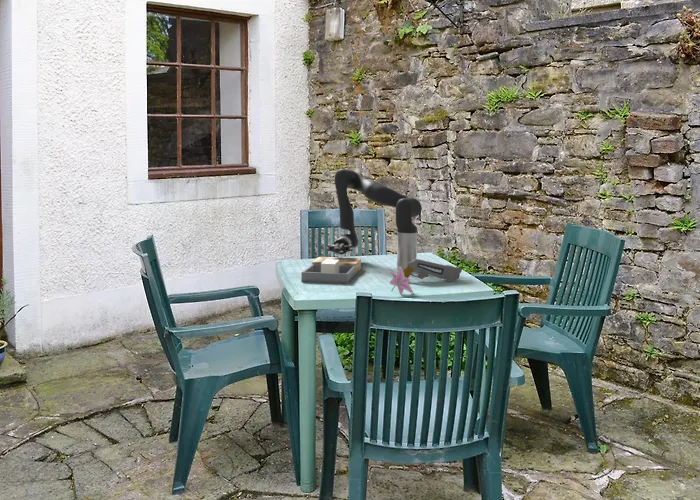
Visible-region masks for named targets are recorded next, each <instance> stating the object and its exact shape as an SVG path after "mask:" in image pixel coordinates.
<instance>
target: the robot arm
mask: <svg viewBox="0 0 700 500" xmlns="http://www.w3.org/2000/svg"><path fill="white" fill-rule="evenodd" d="M333 180H334V187H335V190H336V197H337V201H338V207H339V227H340V229H341V230H344V231H345V230H346V231H348V232H349V233H345V234H344V233H341V234H339V235H338V236H337V238H336V240H335V241H334V242H333V244H332V245H331V244H326V251H329V252H334V254H338V255H344V254H346V253H347V252H353V250H354V248H357V247H358V245H359V239H358V235H357V231H356V229H355V228H356V227H355V219H354V218H355V215H354V209H353V207H352V205H351V202H350V199H349V196H348V195H349V194H348V189H351V190H356V191H357V192H360V193H362V194H363V196H364V198H365V197H366V199H368V200H370V201H371V202H373V203H376V204H379V205H382V206H386V207H392V208H395V225H396V228H397V237H396V240H397V242H396V246H397V247H396V268H397V270H398V269H399V267H400V266H401V268H402V270H404V269H405V268H407V267H408V263H409V262H412V261H413V260H414V259H418V226H417V225H415V224H414V223H413V220H412V219H413V218H415V217H418V216H419V215H420V214H421V212H422V211H423V210H422V209H423V207H422V203H421V202H420V201H419V200H418V199H417V198H415V197H411V196H408V195H405V194H403V193H400V192H398V191H396V190H394V189H392V188H390V187H388V186H386V185H384V184H382V183H380V182H377V181H374V180H373V179H369V178H366V177H365V176H363V175H361V174H359V173H358V172H356V171H354V170H351V169H345V168H339V169H337V171H336V172H335V174H334V179H333Z"/></svg>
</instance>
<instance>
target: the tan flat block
mask: <svg viewBox="0 0 700 500" xmlns="http://www.w3.org/2000/svg"><path fill="white" fill-rule="evenodd" d="M326 259H332V260H339V265H344V266H356V275H357V274H358V273H359V271H360V270H362V269H361V268H362V258H361V257H341V256H340V257H339V256H335V257H334V256H333V257H332V256H319V257H316V259H314V260H313V261H312V263H311V265H312V264H318V265H321V263H322V262H323V261H325V260H326Z"/></svg>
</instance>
